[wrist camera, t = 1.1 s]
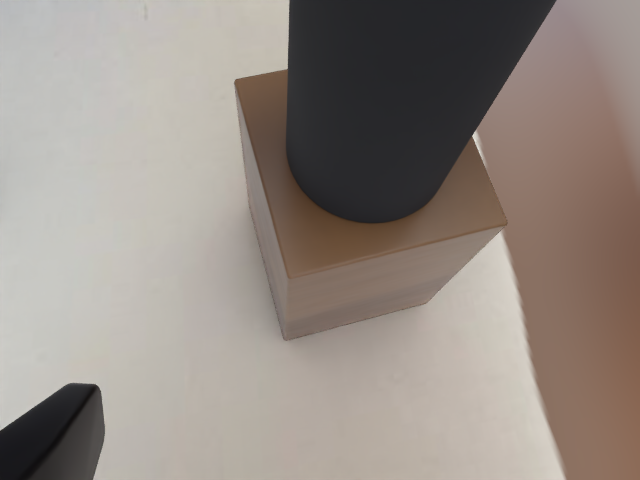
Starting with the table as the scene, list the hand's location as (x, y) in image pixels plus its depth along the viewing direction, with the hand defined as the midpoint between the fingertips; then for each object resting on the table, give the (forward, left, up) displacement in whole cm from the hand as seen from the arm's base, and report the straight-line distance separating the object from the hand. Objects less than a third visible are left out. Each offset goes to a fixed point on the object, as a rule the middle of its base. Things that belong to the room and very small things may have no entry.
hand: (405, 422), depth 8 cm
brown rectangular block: (+7, -2, -14) cm, 15 cm away
